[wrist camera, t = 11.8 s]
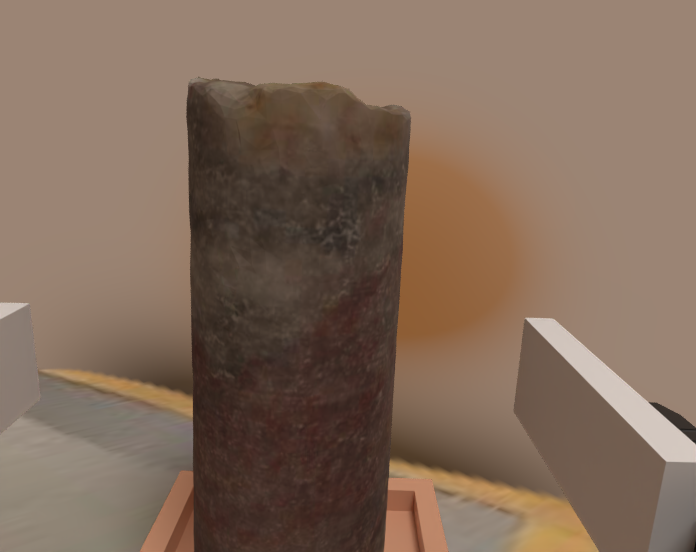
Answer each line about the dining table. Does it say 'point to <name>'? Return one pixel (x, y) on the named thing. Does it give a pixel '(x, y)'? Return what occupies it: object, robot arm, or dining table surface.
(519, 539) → the dining table surface
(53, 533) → the dining table surface
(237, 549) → the candle
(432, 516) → the dish
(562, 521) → the dining table surface
